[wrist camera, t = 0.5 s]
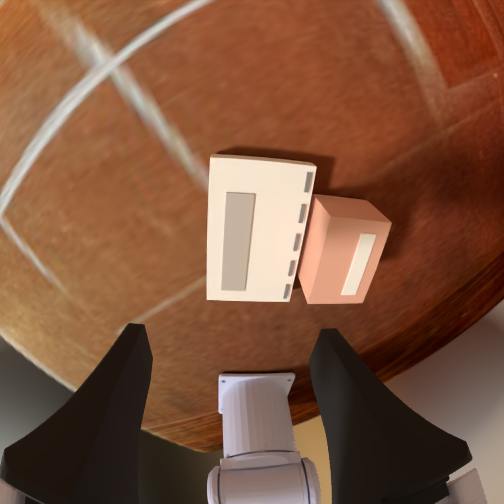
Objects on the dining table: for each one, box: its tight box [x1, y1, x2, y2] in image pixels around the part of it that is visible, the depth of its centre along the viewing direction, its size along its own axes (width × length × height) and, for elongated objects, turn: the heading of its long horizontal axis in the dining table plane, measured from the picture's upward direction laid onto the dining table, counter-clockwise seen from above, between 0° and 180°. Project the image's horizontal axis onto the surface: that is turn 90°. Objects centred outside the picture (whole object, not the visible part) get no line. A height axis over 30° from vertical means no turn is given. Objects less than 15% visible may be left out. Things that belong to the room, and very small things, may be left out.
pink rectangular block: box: [297, 194, 392, 304], centre depth 17 cm, size 6×4×4 cm, turn 175°
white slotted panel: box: [207, 154, 317, 302], centre depth 18 cm, size 10×6×1 cm, turn 175°
